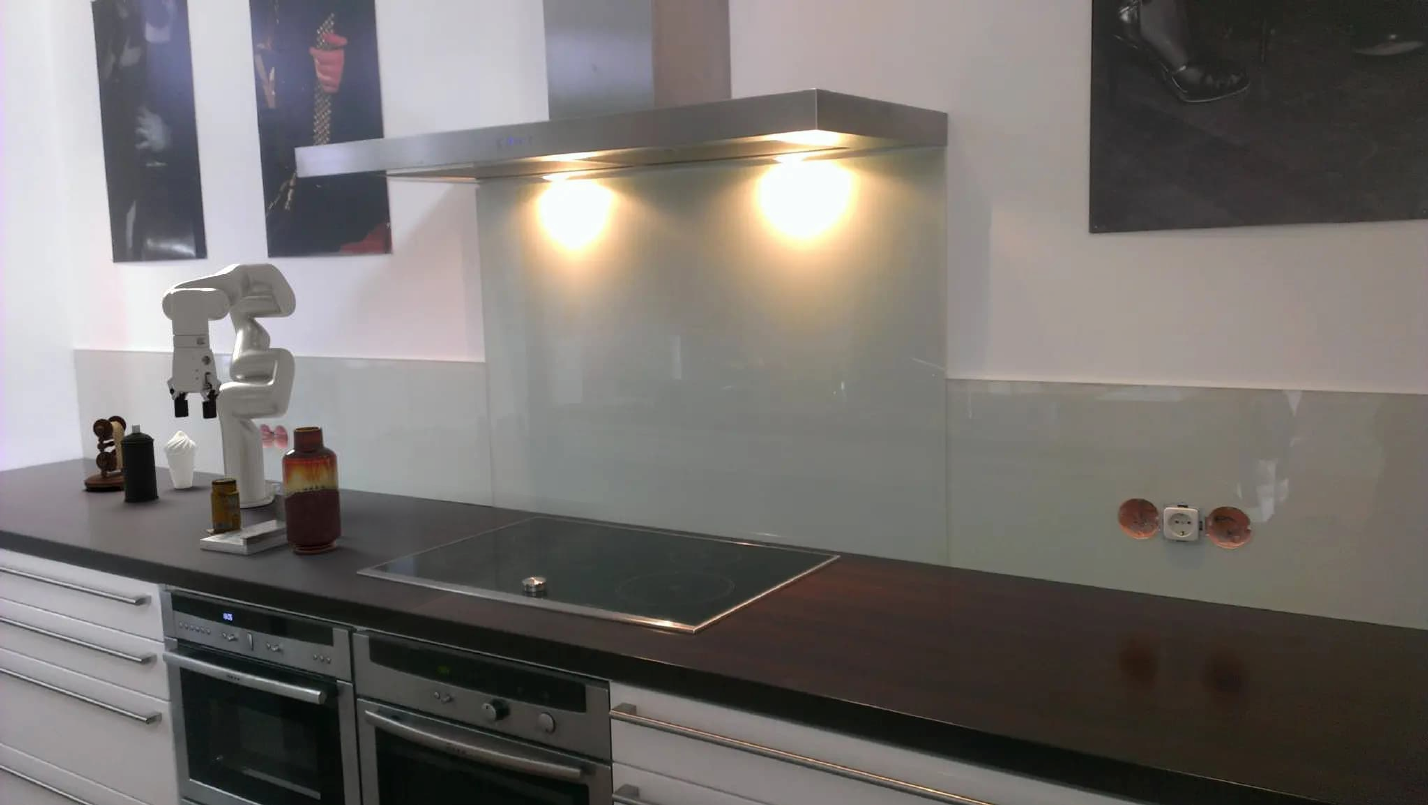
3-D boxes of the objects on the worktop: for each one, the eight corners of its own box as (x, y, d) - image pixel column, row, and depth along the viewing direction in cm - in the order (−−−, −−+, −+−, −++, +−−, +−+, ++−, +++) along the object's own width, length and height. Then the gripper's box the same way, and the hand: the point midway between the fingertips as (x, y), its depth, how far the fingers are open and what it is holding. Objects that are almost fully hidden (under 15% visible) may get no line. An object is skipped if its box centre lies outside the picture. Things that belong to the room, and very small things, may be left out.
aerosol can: (165, 498, 291) (159, 423, 289) (135, 503, 284) (129, 427, 282) (147, 495, 296) (142, 422, 293) (117, 500, 289) (111, 425, 287)
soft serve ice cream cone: (190, 490, 302) (186, 432, 300) (160, 490, 302) (156, 433, 300) (204, 484, 310) (200, 428, 308) (175, 484, 310) (171, 428, 309)
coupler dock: (280, 526, 255) (278, 493, 254) (325, 531, 249) (323, 497, 248) (200, 548, 235) (197, 512, 234) (247, 554, 229) (244, 517, 228)
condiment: (238, 526, 257) (235, 475, 256) (249, 532, 250) (246, 480, 249) (205, 531, 252) (202, 480, 251) (216, 537, 246) (212, 485, 244)
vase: (275, 553, 230) (267, 431, 227) (312, 541, 240) (305, 424, 237) (317, 557, 226) (310, 433, 223) (353, 545, 236) (346, 425, 233)
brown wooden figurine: (126, 492, 301) (120, 420, 298) (73, 492, 301) (67, 421, 298) (154, 481, 315) (149, 413, 313) (103, 482, 315) (97, 414, 313)
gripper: (231, 342, 248) (235, 417, 250) (181, 342, 256) (185, 415, 258) (202, 343, 242) (206, 420, 243) (152, 343, 250) (156, 418, 251)
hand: (195, 417), depth 250 cm, fingers open, 9 cm apart
